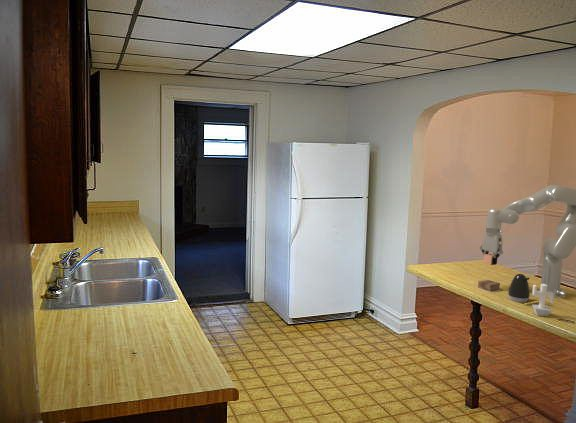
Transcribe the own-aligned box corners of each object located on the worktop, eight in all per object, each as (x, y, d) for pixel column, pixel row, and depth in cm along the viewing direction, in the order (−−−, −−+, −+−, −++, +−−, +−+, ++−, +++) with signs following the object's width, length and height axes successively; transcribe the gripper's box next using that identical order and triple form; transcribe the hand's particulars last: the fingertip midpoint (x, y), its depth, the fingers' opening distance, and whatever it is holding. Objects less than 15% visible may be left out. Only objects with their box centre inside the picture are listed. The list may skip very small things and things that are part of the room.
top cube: (496, 264, 279) (497, 255, 278) (490, 265, 276) (491, 256, 276) (489, 262, 283) (490, 253, 282) (483, 263, 281) (484, 254, 280)
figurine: (553, 317, 238) (556, 287, 236) (532, 315, 240) (535, 285, 238) (549, 313, 245) (552, 283, 243) (528, 311, 247) (531, 281, 245)
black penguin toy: (519, 306, 255) (522, 277, 253) (503, 300, 265) (505, 272, 263) (533, 304, 259) (536, 275, 258) (517, 298, 269) (519, 270, 267)
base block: (499, 290, 280) (499, 283, 280) (489, 291, 276) (490, 284, 276) (487, 286, 287) (487, 279, 286) (477, 288, 283) (478, 281, 282)
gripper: (511, 233, 272) (507, 266, 274) (484, 228, 287) (481, 259, 289) (502, 234, 268) (498, 267, 271) (476, 229, 283) (472, 260, 285)
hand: (489, 263), depth 280 cm, fingers closed on top cube, 4 cm apart
